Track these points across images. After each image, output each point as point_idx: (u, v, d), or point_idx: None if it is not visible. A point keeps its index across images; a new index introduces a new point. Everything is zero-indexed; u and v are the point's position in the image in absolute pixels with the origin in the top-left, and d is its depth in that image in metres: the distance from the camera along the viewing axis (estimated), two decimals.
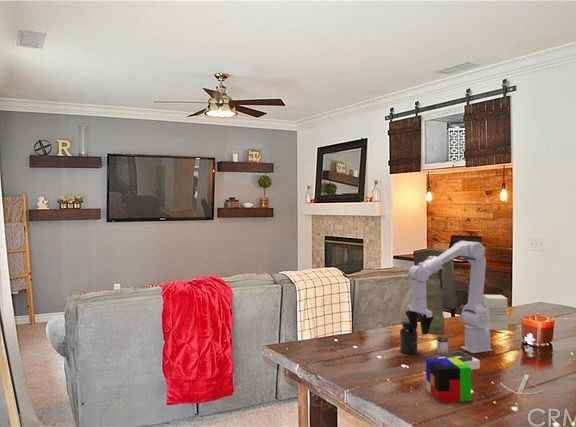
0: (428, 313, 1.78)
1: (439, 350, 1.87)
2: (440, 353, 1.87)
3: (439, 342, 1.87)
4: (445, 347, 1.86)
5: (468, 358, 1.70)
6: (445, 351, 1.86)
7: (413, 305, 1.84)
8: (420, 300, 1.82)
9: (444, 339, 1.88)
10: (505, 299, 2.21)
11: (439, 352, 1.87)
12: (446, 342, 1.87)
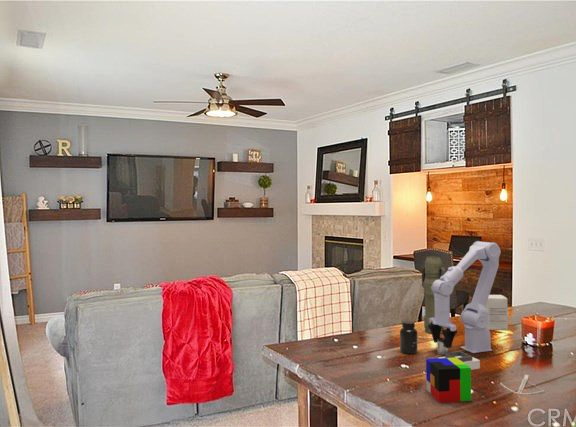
0: (452, 327, 1.81)
1: (439, 350, 1.87)
2: (440, 353, 1.87)
3: (439, 342, 1.87)
4: (445, 347, 1.86)
5: (468, 358, 1.70)
6: (445, 351, 1.86)
7: (437, 318, 1.87)
8: (444, 314, 1.85)
9: (444, 339, 1.88)
10: (505, 299, 2.21)
11: (439, 352, 1.87)
12: None
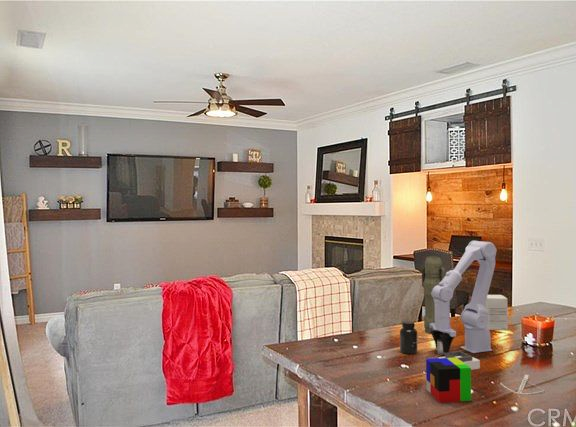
0: (452, 333, 1.81)
1: (439, 350, 1.87)
2: (440, 353, 1.87)
3: (439, 342, 1.87)
4: None
5: (468, 358, 1.70)
6: None
7: (437, 324, 1.87)
8: (444, 319, 1.85)
9: None
10: (505, 299, 2.21)
11: (439, 352, 1.87)
12: None
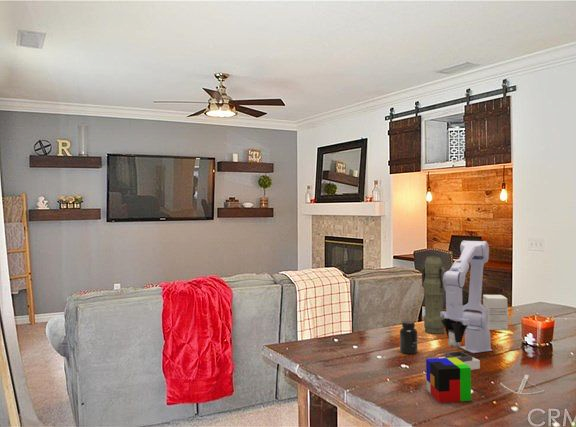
0: (465, 321, 1.69)
1: (451, 341, 1.75)
2: (452, 344, 1.74)
3: (451, 333, 1.75)
4: None
5: (468, 358, 1.70)
6: (457, 342, 1.74)
7: (448, 312, 1.74)
8: (456, 307, 1.73)
9: None
10: (505, 299, 2.21)
11: (451, 343, 1.75)
12: None
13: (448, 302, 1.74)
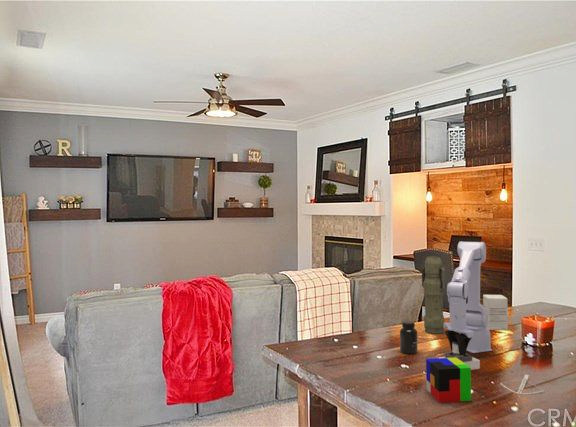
0: (469, 333, 1.66)
1: (454, 353, 1.72)
2: (456, 357, 1.71)
3: (455, 345, 1.72)
4: None
5: (468, 358, 1.70)
6: (461, 355, 1.71)
7: (452, 324, 1.71)
8: (460, 319, 1.70)
9: None
10: (505, 299, 2.21)
11: (454, 356, 1.72)
12: None
13: (452, 314, 1.71)
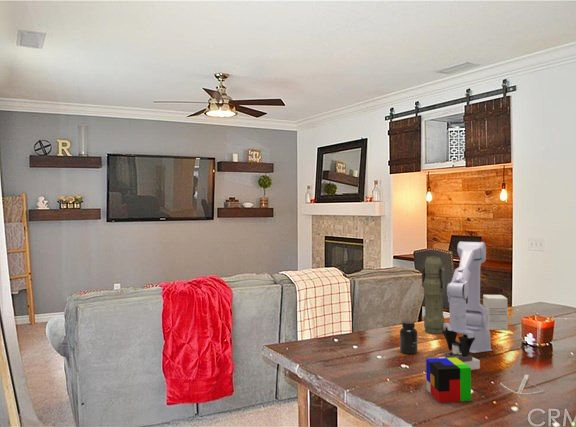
0: (469, 334, 1.66)
1: (454, 355, 1.72)
2: None
3: (454, 346, 1.72)
4: None
5: (468, 358, 1.70)
6: (461, 356, 1.71)
7: (452, 324, 1.71)
8: (460, 319, 1.70)
9: None
10: (505, 299, 2.21)
11: None
12: None
13: (452, 314, 1.71)
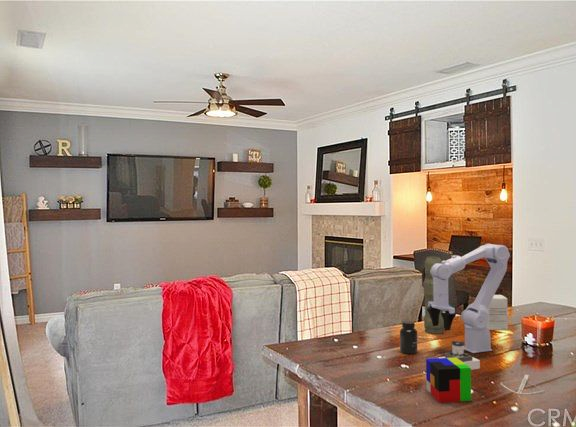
0: (451, 309, 1.83)
1: (454, 355, 1.72)
2: None
3: (454, 346, 1.72)
4: (461, 351, 1.71)
5: (468, 358, 1.70)
6: (461, 356, 1.71)
7: (435, 302, 1.88)
8: (442, 297, 1.87)
9: (460, 343, 1.72)
10: (505, 299, 2.21)
11: None
12: (462, 346, 1.71)
13: (433, 292, 1.90)
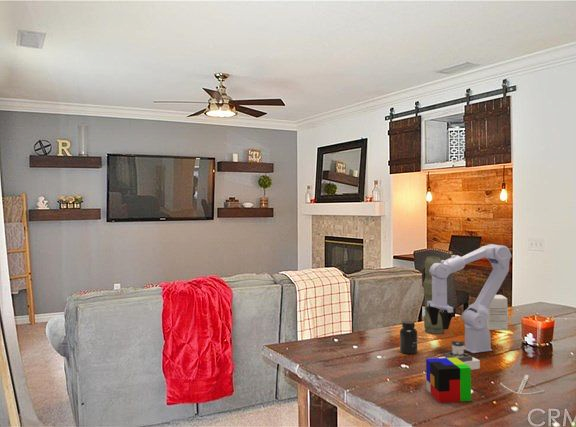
0: (449, 309, 1.84)
1: (454, 355, 1.72)
2: None
3: (454, 346, 1.72)
4: (461, 351, 1.71)
5: (468, 358, 1.70)
6: (461, 356, 1.71)
7: (434, 301, 1.90)
8: (441, 296, 1.88)
9: (460, 343, 1.72)
10: (505, 299, 2.21)
11: None
12: (462, 346, 1.71)
13: (432, 291, 1.92)
